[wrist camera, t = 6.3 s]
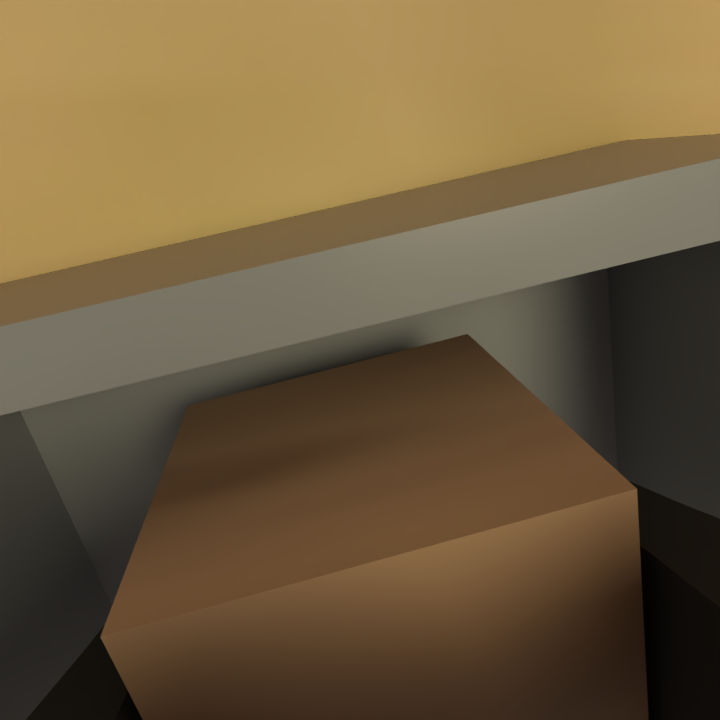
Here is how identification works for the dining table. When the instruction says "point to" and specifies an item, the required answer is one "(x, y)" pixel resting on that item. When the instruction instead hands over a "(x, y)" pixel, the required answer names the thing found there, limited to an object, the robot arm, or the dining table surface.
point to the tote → (353, 350)
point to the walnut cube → (385, 555)
